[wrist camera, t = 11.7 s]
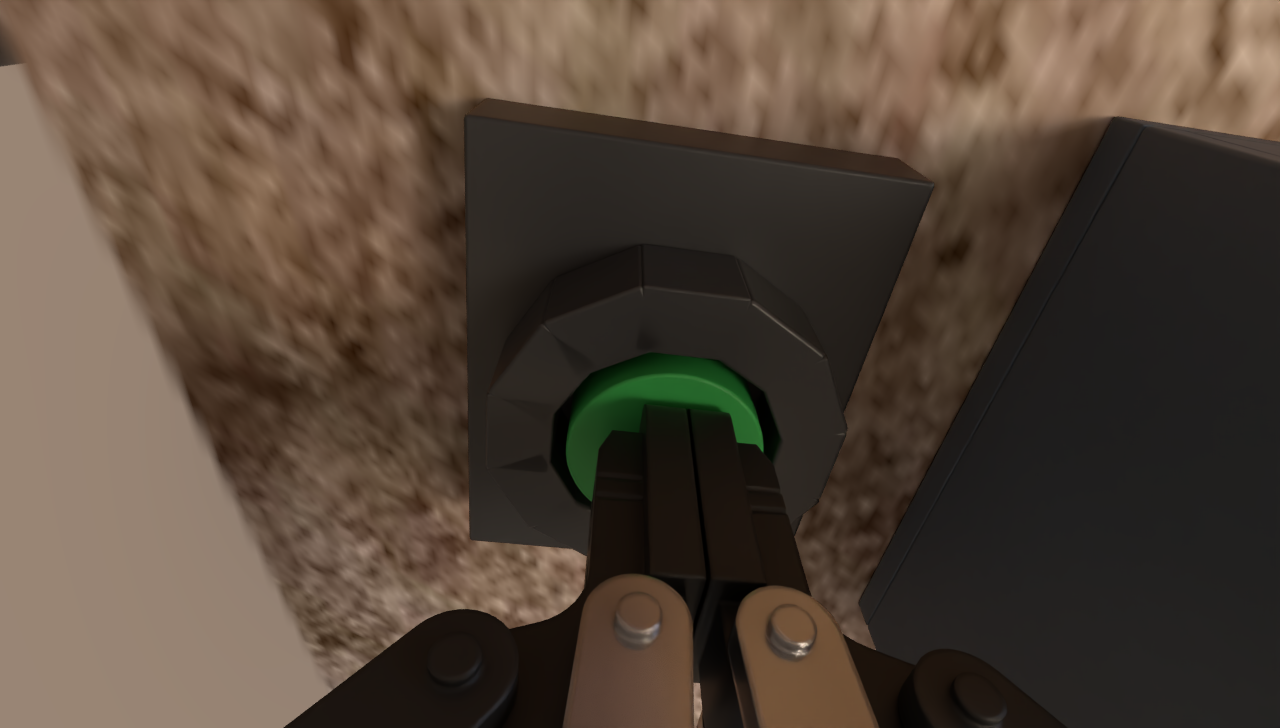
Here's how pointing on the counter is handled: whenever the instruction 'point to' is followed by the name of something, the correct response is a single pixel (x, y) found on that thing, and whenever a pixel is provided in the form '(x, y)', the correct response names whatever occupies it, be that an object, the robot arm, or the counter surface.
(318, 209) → the counter surface
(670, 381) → the button
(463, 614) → the robot arm
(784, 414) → the control block
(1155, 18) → the counter surface
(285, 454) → the counter surface
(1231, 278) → the cabinet
